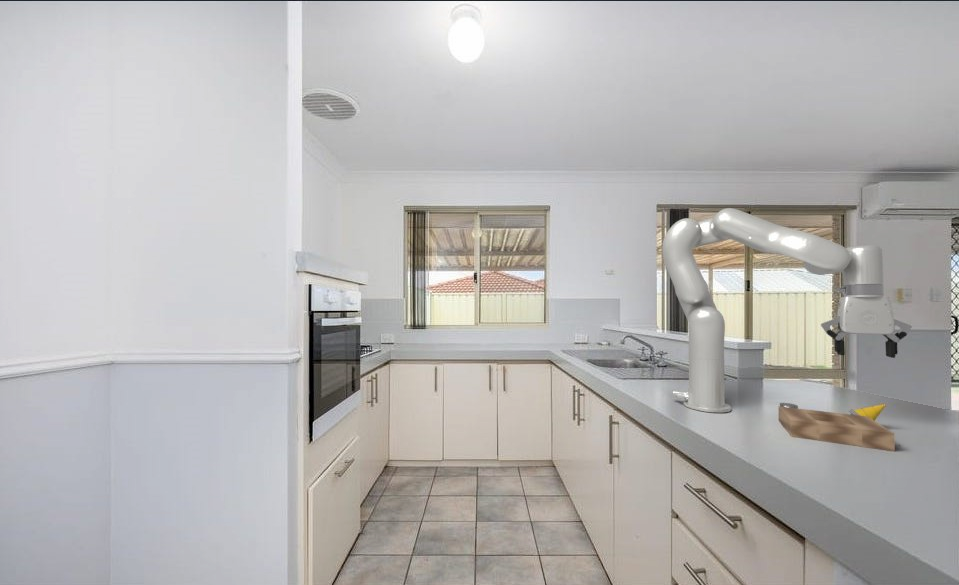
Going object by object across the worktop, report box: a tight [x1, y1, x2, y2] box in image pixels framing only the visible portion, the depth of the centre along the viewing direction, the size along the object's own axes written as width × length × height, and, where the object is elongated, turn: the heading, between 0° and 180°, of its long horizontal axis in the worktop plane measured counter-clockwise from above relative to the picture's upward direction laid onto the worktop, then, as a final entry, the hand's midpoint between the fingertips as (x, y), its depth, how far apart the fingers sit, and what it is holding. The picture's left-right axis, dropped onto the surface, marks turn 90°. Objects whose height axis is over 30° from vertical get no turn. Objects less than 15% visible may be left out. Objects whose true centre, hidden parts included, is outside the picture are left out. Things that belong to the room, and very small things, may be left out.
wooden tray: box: [778, 405, 896, 452], centre depth 93 cm, size 18×14×4 cm
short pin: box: [779, 402, 799, 409], centre depth 106 cm, size 4×4×4 cm
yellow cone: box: [848, 403, 887, 422], centre depth 98 cm, size 5×5×10 cm
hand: (865, 355), depth 99 cm, fingers open, 9 cm apart
